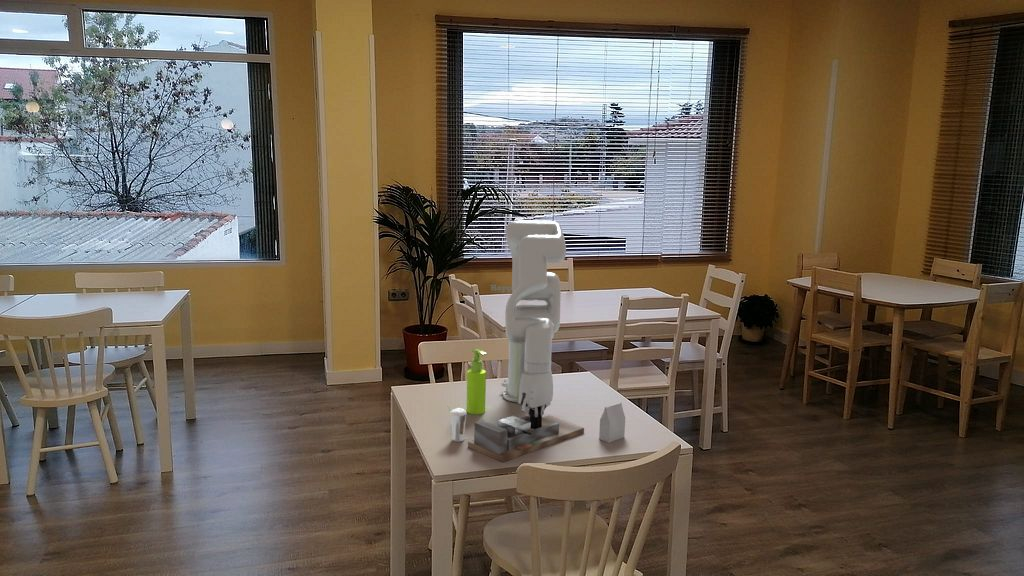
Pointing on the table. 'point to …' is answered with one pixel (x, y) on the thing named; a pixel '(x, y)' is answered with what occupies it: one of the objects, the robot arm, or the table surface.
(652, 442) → the table surface
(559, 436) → the gauge bench
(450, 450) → the table surface
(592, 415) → the table surface
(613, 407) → the tea bag
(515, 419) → the slider
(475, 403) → the soap dispenser
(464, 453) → the table surface
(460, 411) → the milkshake
